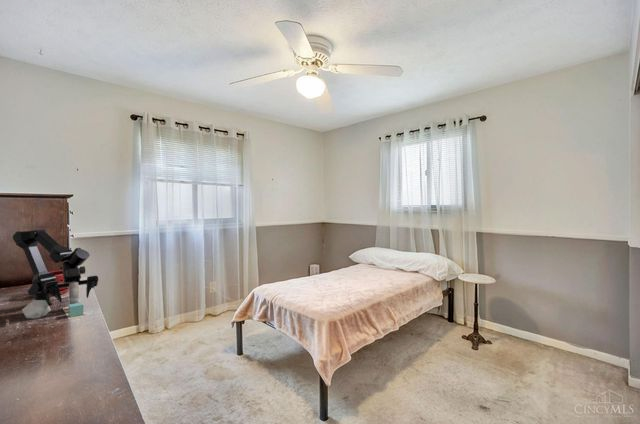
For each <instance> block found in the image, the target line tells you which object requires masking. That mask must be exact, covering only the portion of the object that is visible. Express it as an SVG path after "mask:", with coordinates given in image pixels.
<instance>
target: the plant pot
mask: <svg viewBox="0 0 640 424" xmlns="http://www.w3.org/2000/svg"><path fill="white" fill-rule="evenodd" d="M49 272H50V273H52V272H53V273H54V274H55V277H56V278H57V284H59V283H64V278H63V270H53V271H49ZM59 291H60V294H61V295H63V294H66V293H67V292H69V287H63V288H59ZM50 297H54V296H53V295H50Z"/></svg>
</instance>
